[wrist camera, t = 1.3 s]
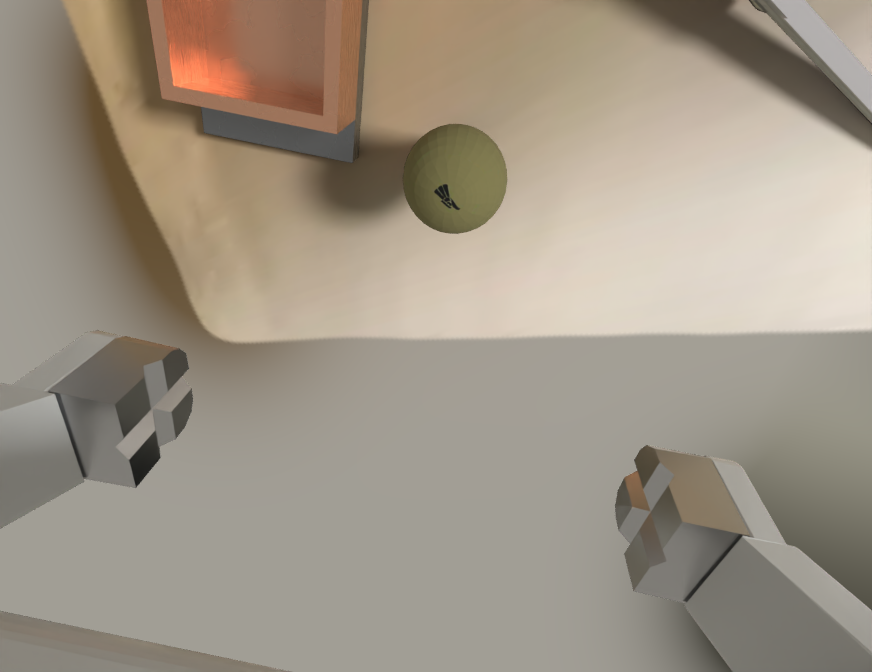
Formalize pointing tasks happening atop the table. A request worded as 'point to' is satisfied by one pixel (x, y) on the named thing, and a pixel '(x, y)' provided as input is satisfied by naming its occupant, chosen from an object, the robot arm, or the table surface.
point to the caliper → (822, 49)
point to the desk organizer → (267, 69)
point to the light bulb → (455, 178)
